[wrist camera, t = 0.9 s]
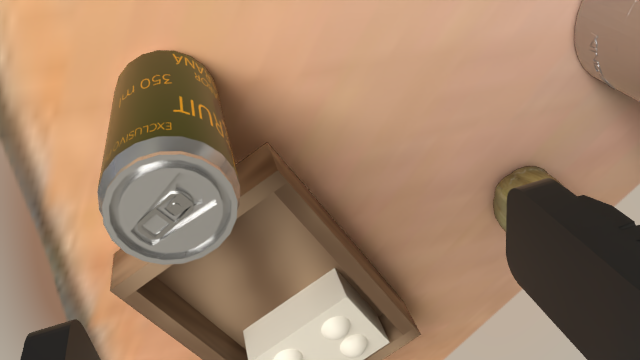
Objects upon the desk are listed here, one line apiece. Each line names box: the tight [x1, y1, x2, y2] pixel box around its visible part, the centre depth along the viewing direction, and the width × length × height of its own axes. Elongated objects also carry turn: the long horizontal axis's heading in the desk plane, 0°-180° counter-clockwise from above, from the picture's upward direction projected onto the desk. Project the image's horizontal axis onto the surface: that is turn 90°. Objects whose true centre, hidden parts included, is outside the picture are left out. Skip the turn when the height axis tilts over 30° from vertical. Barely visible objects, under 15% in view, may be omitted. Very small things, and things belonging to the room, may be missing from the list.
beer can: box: [98, 50, 240, 265], centre depth 26 cm, size 5×5×12 cm
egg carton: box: [243, 268, 390, 360], centre depth 40 cm, size 8×6×4 cm
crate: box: [110, 142, 421, 360], centre depth 38 cm, size 12×18×4 cm, turn 33°
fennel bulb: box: [493, 166, 563, 231], centre depth 36 cm, size 6×5×12 cm
